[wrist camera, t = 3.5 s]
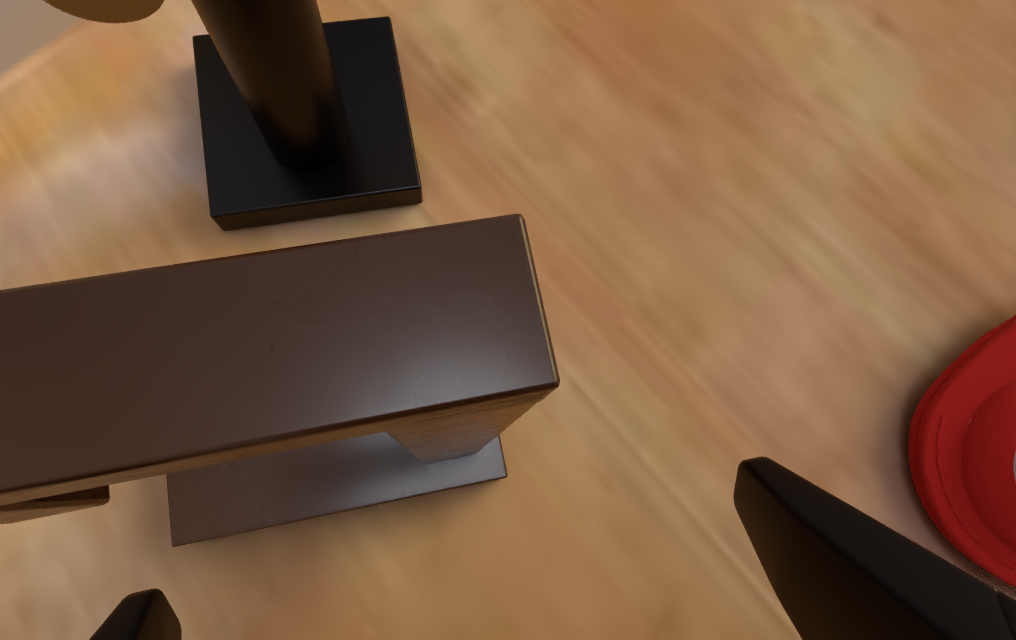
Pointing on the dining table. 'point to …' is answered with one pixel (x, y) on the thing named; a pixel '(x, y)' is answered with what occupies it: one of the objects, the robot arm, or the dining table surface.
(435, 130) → the dining table surface
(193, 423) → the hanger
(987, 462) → the tracker holder
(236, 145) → the coat rack
